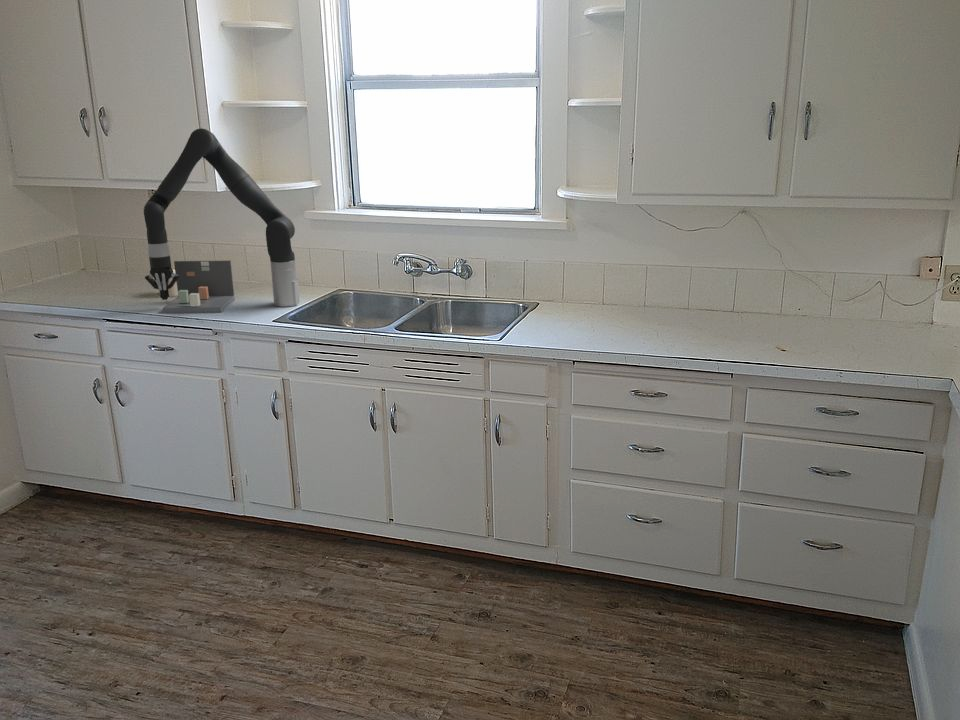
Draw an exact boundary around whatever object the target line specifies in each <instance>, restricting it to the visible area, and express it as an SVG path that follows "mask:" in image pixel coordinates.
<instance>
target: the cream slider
mask: <svg viewBox="0 0 960 720" xmlns="http://www.w3.org/2000/svg"><path fill="white" fill-rule="evenodd" d="M189 299H190V306H199V305H200V297H199V293H191V294H189Z"/></svg>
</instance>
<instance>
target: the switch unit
mask: <svg viewBox="0 0 960 720" xmlns="http://www.w3.org/2000/svg"><path fill="white" fill-rule="evenodd" d="M173 264H174V270H175V273H176V275H177V274H178V275H179V278H178V279H177V281H176V282H177V290H178V291H179V290H188V295H189V294H191V293H199V292H198V288H199V287H206V286H208V293H209V298H208V299H200V305H199V306H190V299H189V302H188V303H179V297H178V296H176V297H175V298H174V299H173V300H171V301H170V302H169V303H167V304H166V305H164V306H163V307H162V313H163V314H183V313H184V314H185V313H186V314H193V313H196V312H198V314H199V313H200V314H201V313H203V312H209V313H223V312H224V311H225V310H226V309H227V308H228V307H229V306H230V305H231V304H232V303H233V302H235V300H236V298H235V297H236V296H235V289H234V288H235V287H234V277H233V268H232V261H231V260H229V259H228V260H225V259H224V260H174V262H173ZM196 314H197V313H196ZM203 314H204V313H203Z"/></svg>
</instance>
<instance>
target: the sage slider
mask: <svg viewBox="0 0 960 720" xmlns="http://www.w3.org/2000/svg"><path fill="white" fill-rule="evenodd" d="M177 297H179V303H188V302H189V295H188V290H179V291H178V296H177Z"/></svg>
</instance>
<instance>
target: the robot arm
mask: <svg viewBox="0 0 960 720" xmlns="http://www.w3.org/2000/svg"><path fill="white" fill-rule="evenodd" d="M202 158H203V159H205V161H206V162H208V163H209V164H210V166H212V167H213V169H214V170H215V171H216V172H217V174H218V175H219V177H220V179H221V180H222V182H223V183H224V185H225V187H226V188H227V189H228V190H229V191H230V193H231V194H232V195H233V197H235V198H236V200H238V201H239V202H240V203H241V204H242V205H244V206H245V207H246V208H248V209H249V210H251V211H253V212H254V213H255V214H256V215H258V216H259V217H260V218H261V219H262V220H263V221H264V223H265V224H266V228H265V240H266V247H267V248H266V249H267V254H268V257H269V259H270V260H269V261H270V271H271V272H270V274H271V284H272V294H273V295H272V296H273V305H274V306H275V307H293V306H297V305H298V304H299V303H300V293H299V292H300V290H299V281H298V278H297V273H296V259H295V257H296V256H295V252H294V251H293V249H292V242H291V239H293V237H294V236H295V232H296V231H295V230H296V229H295V228H296V227H295V225H294V223H293V221H292V220H291V219H290V218H289V217H288V216H287V215H286V214H285V213H283V211H282V210H280V209H279V208H278V207H277V206H276V205H275V204H274V203H273V201H272V200H271V199H270V198H269V197H268V195H267V194H266V193H265V192H264V190H262V188H260V186H259V185H258V184H257V182H256V181H255V180H254V179H253V177H251V176H250V174H249V173H247V171H246V170H245V169H243V167H242V166H241V165H239V163H237V162H236V161H235V160H234V159H233V158H232V157H231V156H230V155H229V154H228V153H227V151H226V149H225V148H224V147H223V146H222V145H221V143H220V142H219V140H218V139H217V137H216V135H215V134H214V133H213V132H211V131H210V130H208V129H207V128H196V129H195V130H193V131H192V132H191V133H190V135H189V137H188V139H187V142H186V143H185V146H184V148H183V151H181V153H180V155H179V156H178V159H177V160H176V162H175V163H174V165H173V166H172V167H171V169H170V170H169V172H168V173H167V174H166V176H165V177H164V179H163V180H162V182H161V183H160V184H159V185H158V187H157V188H156V191H155V192H154V193H153V194H152V195H151V196H150V197H149V199H148V200H147V202H146V203H145V204H144V206H143V217H144V222H145V228H146V238H147V251H148V252H147V253H148V254H147V255H148V258H149V259H148V260H149V266H150V270H149V273H148V274H147V275H146V276H145V277H144V279H145V281H147V282H148V284H150V285H151V287H152V288H153V289H155V290H156V289H157V290H158V291H159V296H160V299H161V300H162V301H166V300H169V299H168V298H170V297H169V292H168V289H170V288H172V287H173V285H174V284H175V282H176V281H177V279H178V278H179V275H178V274H177V275H176V274H175V273H173V270H172V269H173V268H172V261H171V251H170V246H169V242H168V241H169V240H168V233H167V230H166V222H165V212H166V210H167V209H168V207H169V206H170V205H171V203H172V202H173V201H174V200H175V199H176V198H177V196H179V194H180V192H181V191H182V190H183V188H184V187H185V185H186V184H187V181H188V180H189V177H190V175H191V173H192V172H193V170H194V168H195V166H196V165H197V164H198V162H199V161H200V160H201V159H202ZM171 275H172V281H171V282H170V284H169V285H168V283H169V279H170V277H171ZM154 279H155V280H156V281H155V280H154ZM156 282H157V283H156Z"/></svg>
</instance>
